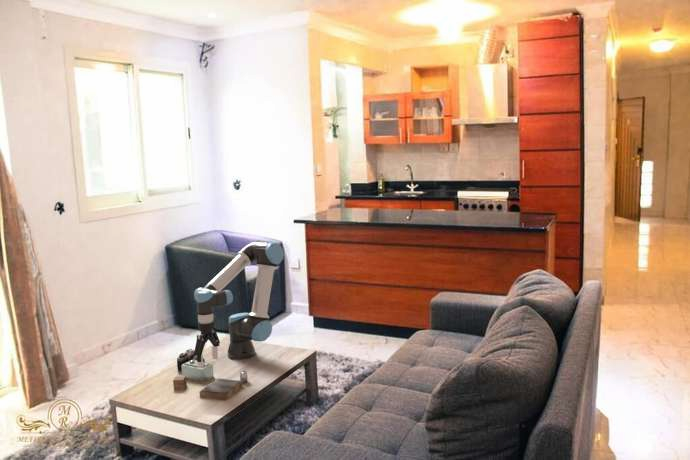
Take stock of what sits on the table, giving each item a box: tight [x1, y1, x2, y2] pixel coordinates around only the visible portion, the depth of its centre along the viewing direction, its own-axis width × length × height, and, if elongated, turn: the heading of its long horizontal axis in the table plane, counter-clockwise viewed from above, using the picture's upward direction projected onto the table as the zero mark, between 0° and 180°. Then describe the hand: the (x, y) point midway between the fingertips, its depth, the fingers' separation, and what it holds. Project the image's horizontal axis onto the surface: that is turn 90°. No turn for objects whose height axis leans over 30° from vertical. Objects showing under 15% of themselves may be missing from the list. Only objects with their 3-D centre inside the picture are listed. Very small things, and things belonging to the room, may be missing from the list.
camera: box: [176, 348, 206, 372], centre depth 306 cm, size 16×10×10 cm, turn 144°
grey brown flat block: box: [199, 378, 244, 401], centre depth 273 cm, size 16×14×3 cm
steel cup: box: [239, 370, 249, 384], centre depth 284 cm, size 4×4×5 cm
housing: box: [181, 360, 214, 383], centre depth 293 cm, size 8×14×8 cm, turn 59°
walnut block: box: [172, 375, 187, 391], centre depth 280 cm, size 5×5×5 cm
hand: (208, 363), depth 287 cm, fingers open, 13 cm apart
